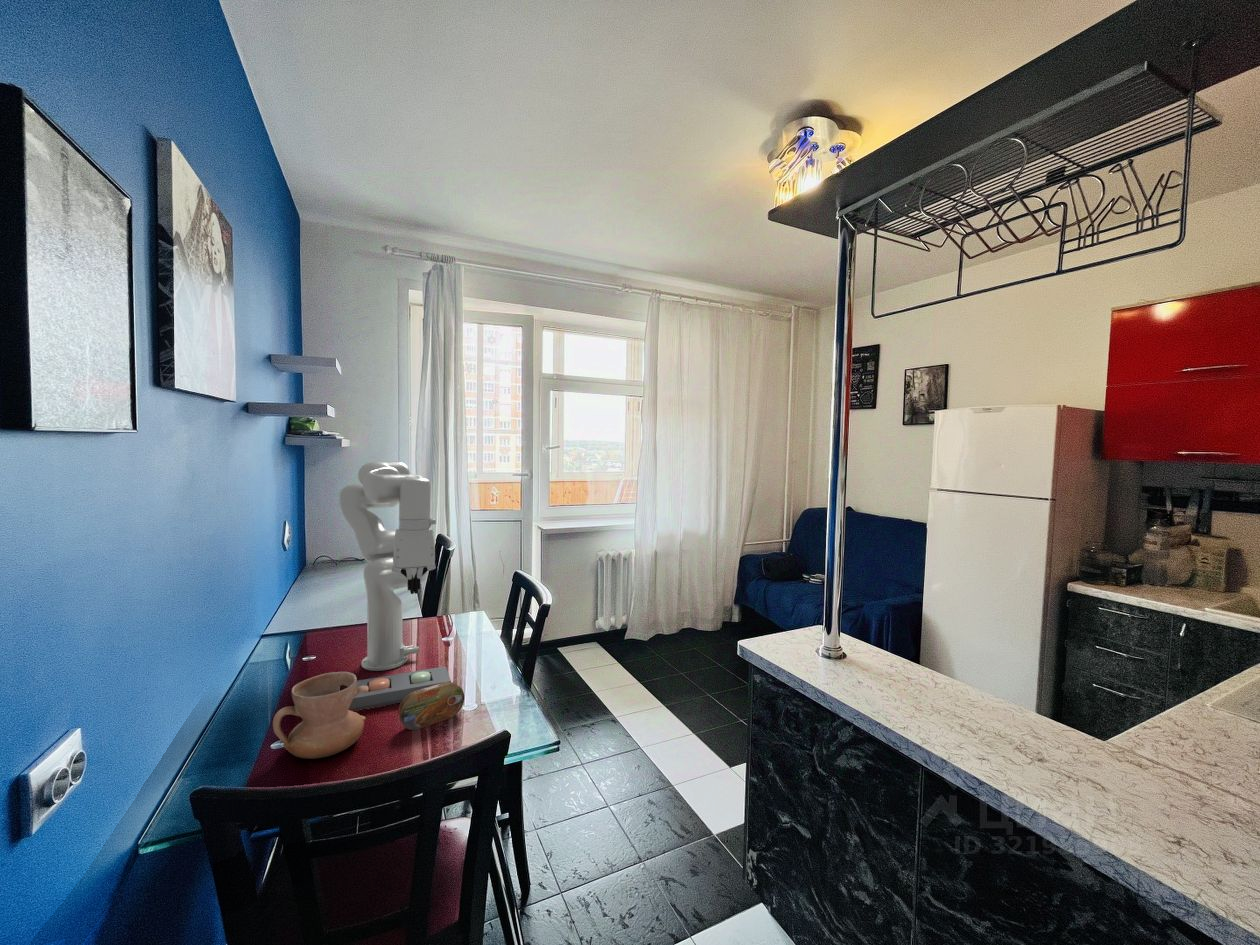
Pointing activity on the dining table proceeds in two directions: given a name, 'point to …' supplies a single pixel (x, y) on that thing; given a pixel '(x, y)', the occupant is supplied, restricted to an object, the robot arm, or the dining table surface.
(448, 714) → the tin
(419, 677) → the sage button
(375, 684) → the terracotta button
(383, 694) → the button panel
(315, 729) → the ceramic jug
